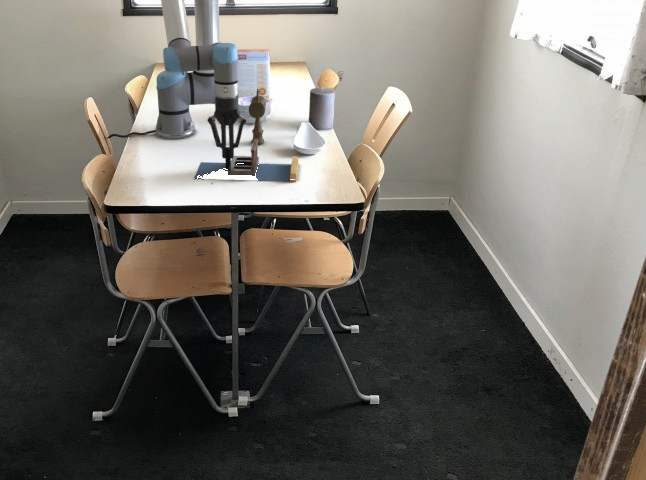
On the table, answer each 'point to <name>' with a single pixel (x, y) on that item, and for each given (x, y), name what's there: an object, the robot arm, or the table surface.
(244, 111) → the paper bowls
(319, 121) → the pillar candle
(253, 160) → the rack
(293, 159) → the rail
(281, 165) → the runner mat
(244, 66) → the cracker box
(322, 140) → the spoon rest
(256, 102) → the kendama
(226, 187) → the table surface
